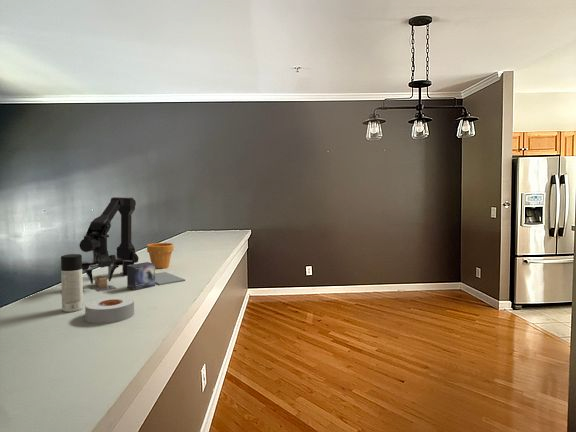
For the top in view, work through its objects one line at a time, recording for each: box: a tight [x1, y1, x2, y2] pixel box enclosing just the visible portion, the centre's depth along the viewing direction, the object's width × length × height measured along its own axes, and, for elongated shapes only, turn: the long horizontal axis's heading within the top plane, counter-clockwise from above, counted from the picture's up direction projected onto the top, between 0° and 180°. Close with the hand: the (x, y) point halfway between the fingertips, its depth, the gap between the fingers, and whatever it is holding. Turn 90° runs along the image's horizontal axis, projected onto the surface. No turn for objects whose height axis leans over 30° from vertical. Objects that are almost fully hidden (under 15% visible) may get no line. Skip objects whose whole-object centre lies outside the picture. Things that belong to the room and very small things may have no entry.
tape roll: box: [84, 296, 135, 325], centre depth 129 cm, size 15×15×5 cm
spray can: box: [60, 253, 84, 313], centre depth 134 cm, size 7×7×20 cm
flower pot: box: [146, 242, 174, 270], centre depth 210 cm, size 14×14×13 cm
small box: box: [126, 261, 156, 291], centre depth 167 cm, size 11×6×10 cm, turn 143°
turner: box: [94, 274, 117, 292], centre depth 166 cm, size 14×7×4 cm, turn 43°
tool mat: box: [155, 271, 186, 286], centre depth 183 cm, size 22×13×1 cm, turn 43°
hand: (100, 282), depth 168 cm, fingers open, 7 cm apart
